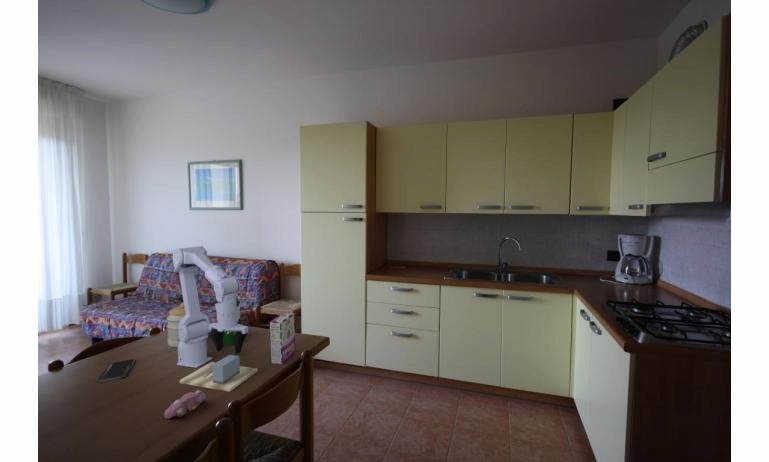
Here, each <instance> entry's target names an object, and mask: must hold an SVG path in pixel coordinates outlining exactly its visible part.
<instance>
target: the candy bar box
mask: <svg viewBox="0 0 769 462" xmlns="http://www.w3.org/2000/svg"><path fill="white" fill-rule="evenodd" d="M295 328H296V327H295V313H292V312H291V313H290V312H283V313H282V314H280V315H278V316H276V317H275V318H274V319H272V320H270V321H269V337H270V360H271V361H270V362H271V363H270V364H273V365H283V364H285V362H287V361H288V360H289V359H290V358H291V357H292V356H293V355H295V354H296V352H297V351H296V334H295V333H296V329H295Z"/></svg>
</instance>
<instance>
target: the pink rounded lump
mask: <svg viewBox="0 0 769 462" xmlns="http://www.w3.org/2000/svg"><path fill="white" fill-rule="evenodd" d="M206 397H207V395H206V393H205V392H204V391H202V390H200V389H197V390H196V391H191V392H187V393H185V394H184V395H182V396H181V397H179V399H176V400H175V401H174V402H172V403H171V404H170V406H169V407H168V408H167V409H165V411H164V413H163V414H164V419H168V420H170V419H171V418H173V417H174V416H178V417H183V416H184V415H186V413H187V409H188V410H189V411H190V412H191V411H192V412H193V411H194V410H196V409H197V407H198V406H199V405H200V404H201V403H202V402H203V401H204V400H205V399H206ZM186 407H187V408H186Z"/></svg>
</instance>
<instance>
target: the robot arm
mask: <svg viewBox="0 0 769 462" xmlns="http://www.w3.org/2000/svg"><path fill="white" fill-rule="evenodd" d="M172 262H173V264H172V265H173V268H174V271H175V272H177V273H178V275H179V280H180V286H181V287H180V288H181V294H182V300H183V302H184V307H185V313H186V315H185V317H184V318H183V319H182V320H181V321H180V322H179V330H178V334H179V338H180V340H181V341H180V343H179V345H178V347H177V359H178V361H177V363H176V366H181V367H188V368H193V369H194V368H199V367H200V366H203V365H204V364H206V363H207V362H209V361H210V362H211V361H212V360H213V357H211V356H208V349H207V348H208V347H207V345H208V344H207V343H208V342H207V339H208V338H209V337H210V339H211V340H212V342H213V345H214V348H215V350H216V352H217V353H218V352H220V351H223V349H224V345H223V336H224V331H230V332H236V333H235V334H233V335H232V338H233V341H234V345H233V347H234V354H235V355H239V354H240V353H241V352H242V349H243V345H244V342H245V339H246V337H247V335H248V334H249V326H248V325H247V326H246V325H242V324H241V323H240V324H238V323H237V301H236V296H237V293H238V292H239V291H240V290H241V289H240V288H241V286H240V285H241V284H240V280H239V279H238V278H237V276H233V275H229V274H228V273H227V272H226V271H224V269H223V268H221V265H214V264H213V262H212V261H211V260H210V258H208V252H207V249H206V248H205V246H203V245H200V246H191V247H183V248H180V247H179V248H178V247H177V248H175V249H174V250H173V254H172ZM198 269H200V270H202V271H203V272H204V277H205V278H206V280H207V281H208V282H209V284H211V285H212V286H213V291H214V294H215V299H216V302H217V303H218V317H219V323H217V322H210V318H209V316H208V315H207V314H205V313H203V312H201V306H200V300H199V294H198V288H197V280H196V275H195V272H196V270H198ZM197 320H200V321H197ZM193 321H197V322H194V323H190V322H193ZM188 323H190V324H188Z"/></svg>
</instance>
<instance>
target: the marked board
mask: <svg viewBox="0 0 769 462" xmlns="http://www.w3.org/2000/svg"><path fill="white" fill-rule="evenodd" d="M215 363H216V361H215V362H214V361H210V362H209V363H208V364H205V365H204V366H202V367H200V368H198V369H197V370H195V371H194V372H191V373H190V374H188V375H186V376H184V377H183V378H181V379H179V384H183V385H189V386H194V387H195V386H196V387H200V388H201V387H202V388H207V389H213V390H218V391H225V392H231V391H233V390H234V389H236V388H237V387H238V386H239V385H241V384H242V383H243V382H245V381H247V380H248V379H249V378H251V377H252V376H253V375H254V374H256V373H258V367H251V366H250V367H249V366H243V365H240V373H239V374H237V375H236V376H234V377H233V378H231V379H230V380H229V381H227V382H226V383H224V384H219V383H213V366H212V365H213V364H215Z"/></svg>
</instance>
